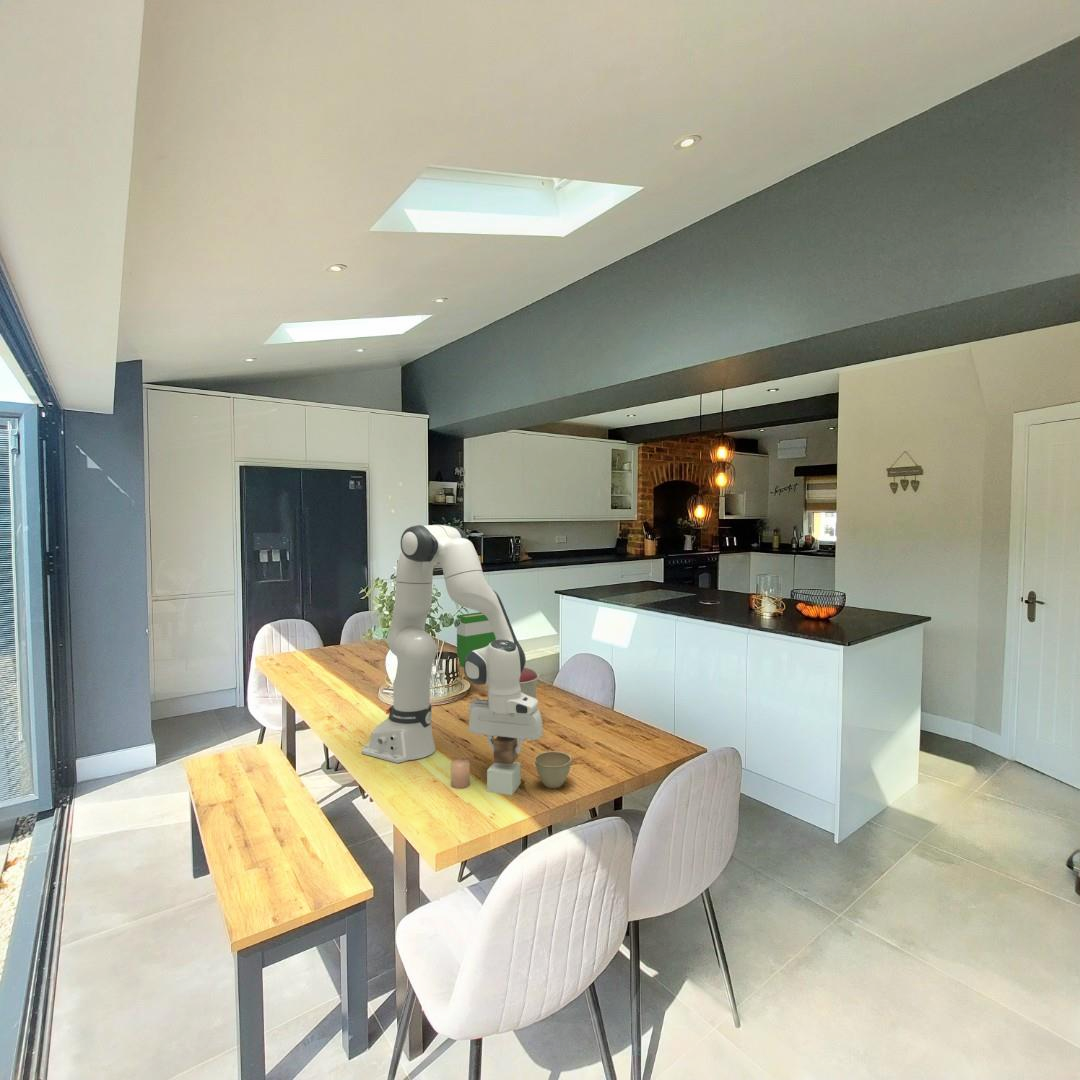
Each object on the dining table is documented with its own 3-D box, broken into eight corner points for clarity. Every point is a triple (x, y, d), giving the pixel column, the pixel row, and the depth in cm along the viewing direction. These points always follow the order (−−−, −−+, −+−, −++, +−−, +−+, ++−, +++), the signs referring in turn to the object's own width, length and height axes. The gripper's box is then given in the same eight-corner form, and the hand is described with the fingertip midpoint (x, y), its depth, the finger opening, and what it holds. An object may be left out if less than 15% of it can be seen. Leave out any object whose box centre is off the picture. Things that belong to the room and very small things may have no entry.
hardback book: (487, 658, 300) (487, 611, 299) (495, 661, 295) (495, 613, 293) (457, 664, 289) (456, 615, 288) (465, 667, 283) (465, 617, 282)
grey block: (487, 792, 160) (487, 770, 159) (496, 780, 166) (496, 759, 166) (511, 795, 158) (511, 773, 157) (520, 784, 164) (520, 762, 164)
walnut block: (494, 762, 160) (493, 740, 160) (500, 754, 165) (500, 733, 165) (511, 764, 159) (511, 742, 158) (517, 756, 164) (517, 735, 163)
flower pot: (540, 774, 170) (540, 749, 170) (575, 778, 167) (575, 753, 167) (530, 789, 161) (530, 763, 160) (566, 795, 158) (566, 768, 157)
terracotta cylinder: (448, 787, 162) (447, 765, 162) (456, 779, 167) (456, 758, 166) (464, 790, 161) (464, 768, 160) (472, 781, 165) (472, 760, 165)
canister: (496, 711, 223) (495, 655, 222) (543, 714, 219) (543, 657, 218) (481, 728, 205) (481, 667, 204) (533, 732, 201) (533, 670, 200)
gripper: (464, 702, 161) (465, 752, 162) (537, 708, 155) (537, 760, 156) (473, 694, 167) (474, 743, 168) (544, 700, 161) (544, 750, 162)
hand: (505, 751), depth 162 cm, fingers closed on walnut block, 5 cm apart
